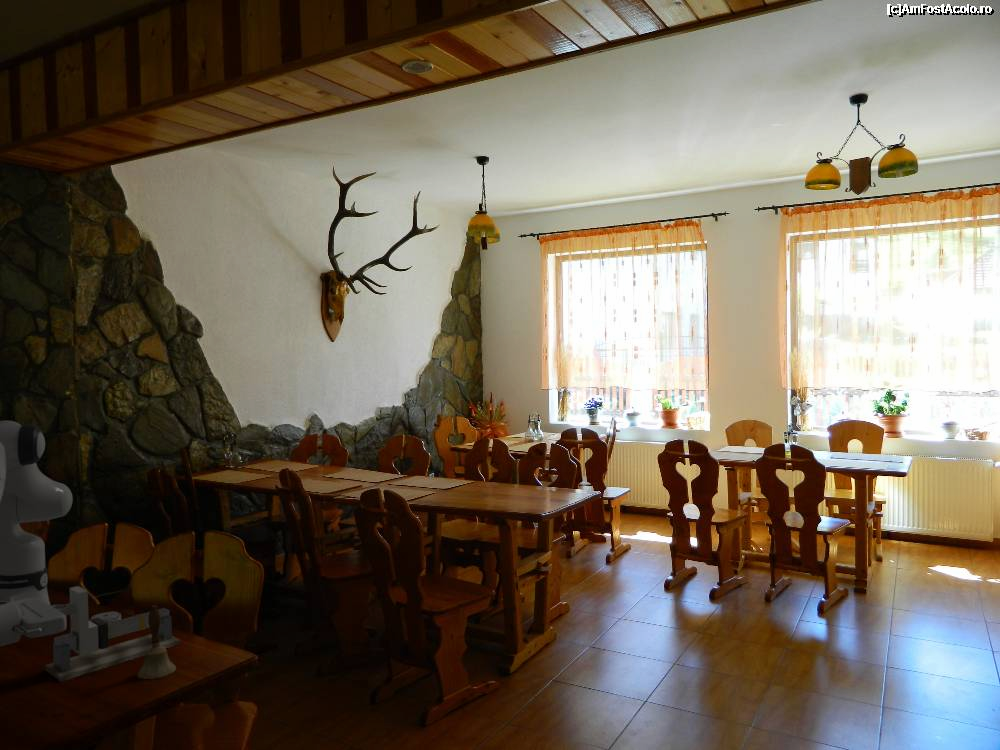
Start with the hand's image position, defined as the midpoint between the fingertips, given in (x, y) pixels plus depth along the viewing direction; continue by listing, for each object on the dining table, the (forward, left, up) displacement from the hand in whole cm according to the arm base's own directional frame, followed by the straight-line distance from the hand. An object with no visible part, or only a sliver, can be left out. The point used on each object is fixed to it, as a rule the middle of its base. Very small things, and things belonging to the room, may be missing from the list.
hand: (74, 607), depth 174 cm
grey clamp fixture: (+6, +6, -14) cm, 16 cm away
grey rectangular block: (+2, +1, -11) cm, 11 cm away
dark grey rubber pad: (+4, +4, -11) cm, 12 cm away
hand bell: (+20, -4, -15) cm, 26 cm away
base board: (+6, +6, -15) cm, 17 cm away
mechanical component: (-4, +25, -15) cm, 29 cm away
